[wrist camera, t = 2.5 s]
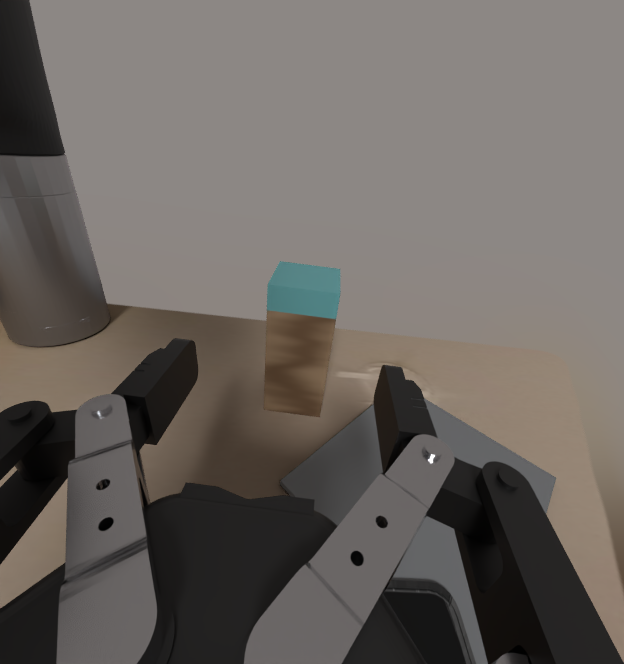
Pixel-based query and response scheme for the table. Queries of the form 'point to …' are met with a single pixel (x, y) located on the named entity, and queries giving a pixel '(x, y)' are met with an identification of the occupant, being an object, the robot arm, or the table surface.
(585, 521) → the table surface
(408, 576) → the grey mat
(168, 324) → the table surface
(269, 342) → the walnut block
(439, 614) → the phone
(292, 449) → the table surface
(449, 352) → the table surface
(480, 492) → the robot arm
